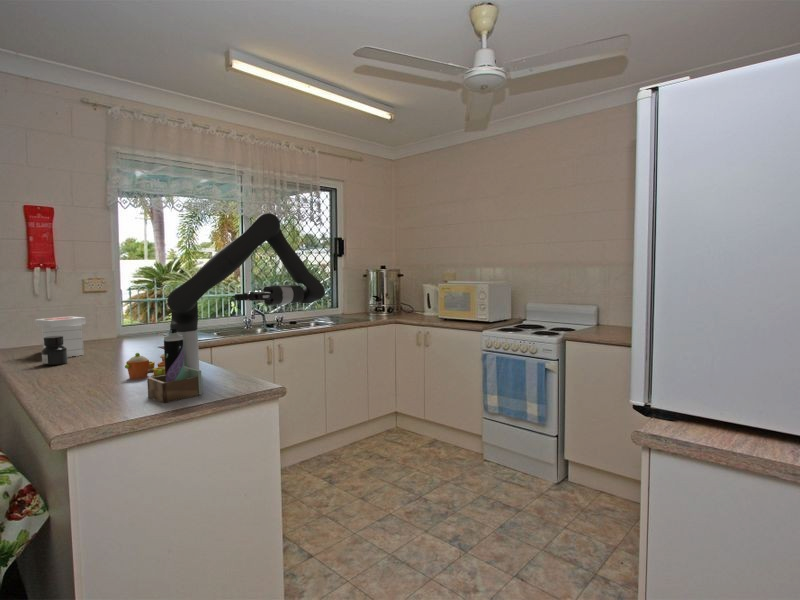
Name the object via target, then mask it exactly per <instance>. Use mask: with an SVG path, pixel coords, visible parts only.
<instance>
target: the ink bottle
mask: <svg viewBox="0 0 800 600" xmlns="http://www.w3.org/2000/svg"><path fill="white" fill-rule="evenodd" d="M63 343H64V342H63V336H50V337H44V346H46V347H45V348H44V349H43V348H42V350H41V364H42V366H44V367H45V366H46V367H50V366H51V367H53V365H54V366H61V365H66V364H67V363H68V362H69V361H68V357H67V348H66V347H64V346H62V345H63Z"/></svg>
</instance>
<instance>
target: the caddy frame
mask: <svg viewBox="0 0 800 600" xmlns="http://www.w3.org/2000/svg"><path fill="white" fill-rule="evenodd" d="M146 378H147V380H146V382H147V383H146V384H147V397H148V398H150V399H152V400H155V401H158V402H160V403H163V404H167V403H172V402H176V401H180V400H185V399H189V398H190V399H191V398H193V397H194V398H195V397H198V396H199V393H198V378H197V377H192V378H186V379H181V380H176V381H170V382H166V376H165V375H162V376H156V377H151V376H150V377H146Z"/></svg>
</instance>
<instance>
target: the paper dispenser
mask: <svg viewBox="0 0 800 600" xmlns="http://www.w3.org/2000/svg"><path fill="white" fill-rule="evenodd" d="M34 321H35V323H34V324H35V327H41V337H42V341H41V342H42V350H43V349H44V348H45V347H46V346H44V337H50V336H63V342H64V343H63V345H62V346H64V347H66V348H67V358H73V357H72V356H76V357H80V356H79V355H84V354H85V353H84V339H83V338H84V336H83V325H86V324H87V322H86V316H85V317H84V316H73V315H72V316H59V317H48V318H47V317H46V318H36V319H34ZM84 356H85V355H84Z"/></svg>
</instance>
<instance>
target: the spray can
mask: <svg viewBox="0 0 800 600" xmlns="http://www.w3.org/2000/svg"><path fill="white" fill-rule="evenodd" d="M163 352H164V353H163V354H164V355H165V376H166V382H170V381H176V380H181V379H185V370H184V348H183V336H182V335H180V334H178V332H177V331H176V329H169V332H167V334H166V335H165V336H164V337H163Z"/></svg>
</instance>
